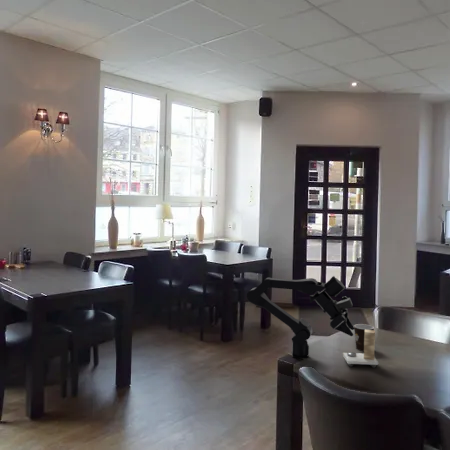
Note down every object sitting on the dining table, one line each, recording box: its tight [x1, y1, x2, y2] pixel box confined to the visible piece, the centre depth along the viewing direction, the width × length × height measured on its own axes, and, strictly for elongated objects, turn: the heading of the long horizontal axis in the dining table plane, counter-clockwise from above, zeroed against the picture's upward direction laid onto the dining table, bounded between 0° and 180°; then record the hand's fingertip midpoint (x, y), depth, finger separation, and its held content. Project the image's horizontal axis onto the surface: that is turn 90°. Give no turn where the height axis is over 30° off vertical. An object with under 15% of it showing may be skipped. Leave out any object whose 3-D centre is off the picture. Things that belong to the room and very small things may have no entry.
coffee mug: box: [353, 323, 375, 352], centre depth 206 cm, size 12×9×10 cm
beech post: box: [363, 329, 376, 360], centre depth 185 cm, size 4×4×11 cm
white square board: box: [342, 352, 379, 369], centre depth 186 cm, size 12×10×3 cm
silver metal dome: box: [346, 351, 356, 357], centre depth 188 cm, size 4×4×1 cm
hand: (353, 332), depth 187 cm, fingers open, 9 cm apart
